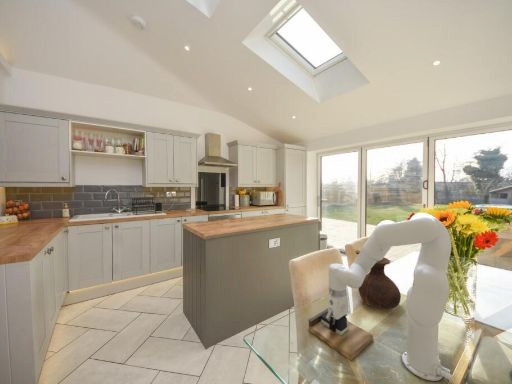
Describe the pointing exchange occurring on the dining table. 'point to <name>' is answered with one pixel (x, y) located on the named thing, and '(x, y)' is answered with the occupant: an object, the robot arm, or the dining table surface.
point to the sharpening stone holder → (341, 336)
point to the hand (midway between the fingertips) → (337, 326)
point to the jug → (379, 288)
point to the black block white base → (340, 323)
